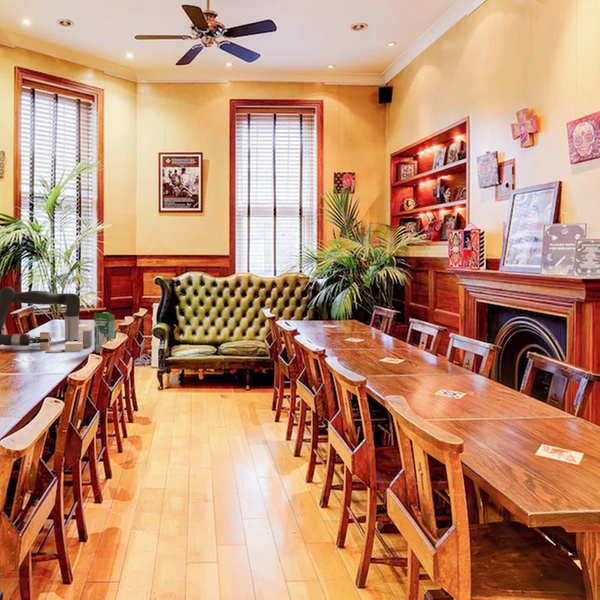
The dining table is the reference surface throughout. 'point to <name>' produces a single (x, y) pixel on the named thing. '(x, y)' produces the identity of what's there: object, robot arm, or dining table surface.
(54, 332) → the dining table surface
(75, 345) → the base block
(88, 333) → the slate block
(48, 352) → the tile
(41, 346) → the maple block
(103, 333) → the milk carton
